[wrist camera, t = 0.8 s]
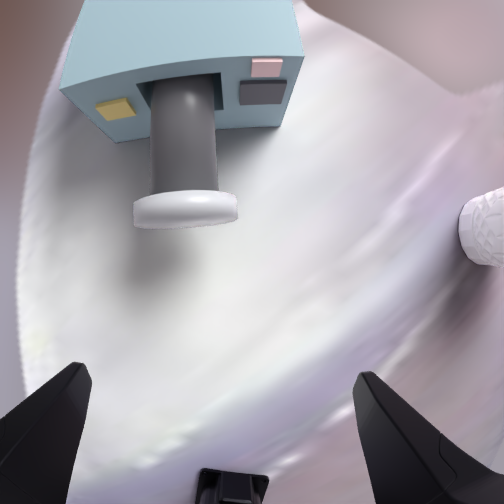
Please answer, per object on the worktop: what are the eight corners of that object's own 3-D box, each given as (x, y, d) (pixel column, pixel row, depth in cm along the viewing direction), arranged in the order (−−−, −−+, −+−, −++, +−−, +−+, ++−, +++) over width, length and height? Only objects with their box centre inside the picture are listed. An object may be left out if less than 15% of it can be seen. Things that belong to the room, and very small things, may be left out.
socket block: (280, 129, 24) (305, 60, 14) (115, 146, 23) (58, 93, 13) (266, 24, 24) (277, -50, 14) (126, 40, 23) (95, -25, 13)
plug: (237, 223, 20) (238, 210, 15) (150, 231, 20) (117, 221, 14) (226, 51, 21) (224, 1, 15) (153, 59, 20) (134, 14, 14)
